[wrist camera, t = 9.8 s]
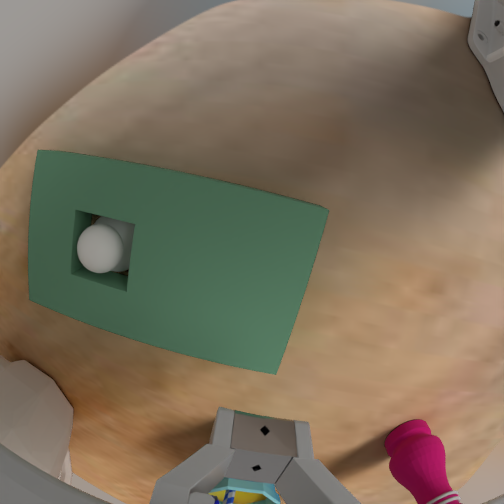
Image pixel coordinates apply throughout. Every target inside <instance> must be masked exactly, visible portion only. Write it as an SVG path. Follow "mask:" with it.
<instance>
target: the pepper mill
mask: <svg viewBox="0 0 504 504" xmlns="http://www.w3.org/2000/svg"><path fill="white" fill-rule="evenodd" d="M385 448H386V450H387V453H388V455H389V456H390V457H391V460H390V463H389V469H390V471H391V473H392V475H393V477H394V478H395V479H396V480H397V481H398V482H399V483H400V484H401V485H403V486H404V487H405V488H406V489H408V490H409V491H410V492H411V494H412V495H413V496H414V498H415V499H416V501H417V503H418V504H461V503H459V502H460V500H461V497H460V496H458V492H457V491H453V490H452V488H451V487H450V485H449V483H448V480H447V476H446V469H445V449H444V446H443V444H442V442H441V440H440V439H439V438H438V437H437V436H434V435H431V430H430V428H429V427H428V425H427V423H426V422H425V421H424V420H419V419H418V420H412V421H408V422H406V423H404V424H402V425H400V426H398V427H397V428H395V429H394V430H393V431H392V432H391V433H390V434H389V435H388V437H387V438H386V440H385Z"/></svg>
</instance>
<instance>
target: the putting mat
mask: <svg viewBox="0 0 504 504" xmlns="http://www.w3.org/2000/svg"><path fill="white" fill-rule="evenodd" d="M328 213H329V210H328V209H326V208H324V207H322V206H320V205H316V204H312V203H309V202H305V201H302V200H298V199H294V198H290V197H287V196H283V195H279V194H275V193H271V192H267V191H263V190H259V189H255V188H251V187H247V186H243V185H239V184H234V183H230V182H226V181H221V180H217V179H213V178H208V177H203V176H199V175H194V174H189V173H185V172H180V171H175V170H170V169H165V168H160V167H155V166H149V165H144V164H139V163H133V162H128V161H122V160H116V159H110V158H104V157H98V156H91V155H85V154H78V153H71V152H64V151H55V150H38V151H37V157H36V163H35V170H34V177H33V185H32V194H31V204H30V217H29V236H28V281H29V300H31V301H33V302H35V303H37V304H40V305H42V306H44V307H47V308H49V309H51V310H54V311H56V312H59V313H61V314H64V315H66V316H69V317H71V318H74V319H76V320H79V321H81V322H84V323H87V324H89V325H92V326H95V327H98V328H101V329H103V330H106V331H109V332H112V333H115V334H118V335H121V336H124V337H127V338H130V339H133V340H136V341H139V342H143V343H146V344H149V345H153V346H156V347H159V348H163V349H166V350H170V351H173V352H177V353H181V354H184V355H188V356H192V357H196V358H200V359H204V360H208V361H212V362H216V363H221V364H225V365H230V366H234V367H239V368H244V369H248V370H253V371H259V372H264V373H269V374H275V375H276V373H277V371H278V368H279V365H280V363H281V360H282V357H283V354H284V352H285V349H286V346H287V343H288V340H289V337H290V334H291V332H292V329H293V326H294V323H295V320H296V317H297V314H298V311H299V308H300V305H301V302H302V299H303V296H304V293H305V290H306V287H307V283H308V280H309V277H310V274H311V271H312V267H313V264H314V261H315V258H316V254H317V251H318V248H319V244H320V241H321V237H322V234H323V231H324V227H325V224H326V220H327V217H328ZM92 214H96V215H100V216H101V217H100V218H99V219H97V221H96V222H95V223H94V224H107V225H110V226H111V227H113V228H114V229H116V230H117V231H118V233H119V234H120V236H121V238H122V241H123V246H124V251H123V256H122V259H121V261H120V262H119V264H118V265H117V266H116V267H115V268H114V269H112V270H111V271H109V272H106V273H95V272H92V271H90V270H88V269H87V268H85V267H84V266H83V264H82V263H81V262H80V260H79V257H78V254H77V243H78V240H79V237H80V235H81V234H82V232H83V231H84V230H85V229H86V228H88V227H89V226H91V219H92ZM128 269H129V274H128V276H126V275H122V274H119V273H116V272H121V271H125V270H128ZM112 271H116V272H112Z"/></svg>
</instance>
